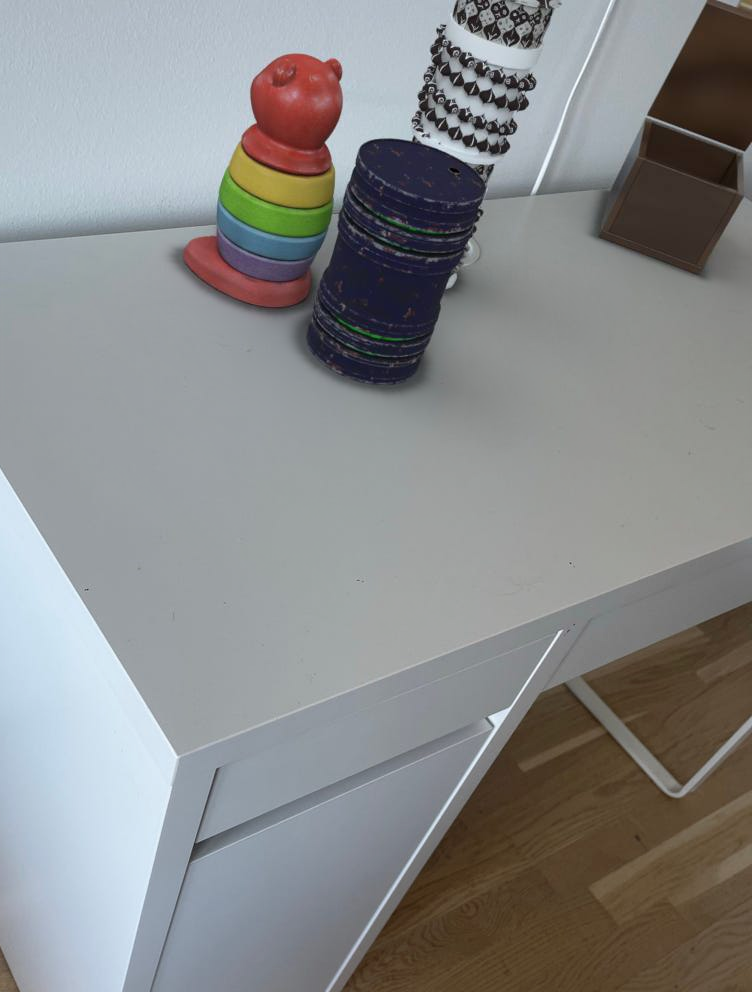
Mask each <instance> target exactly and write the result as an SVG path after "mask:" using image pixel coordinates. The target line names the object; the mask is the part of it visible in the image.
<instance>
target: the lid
mask: <svg viewBox="0 0 752 992" xmlns="http://www.w3.org/2000/svg"><path fill="white" fill-rule="evenodd" d="M646 116H647V117H650V118H653V119H654V120H657V121H661V122H662V123H666V124H669V125H670V126H674V127H677V128H679V129H683V130H684V131H688V132H690V133H693V134H696V135H699V136H701V137H704V138H705V139H706V138H707V139H710V140H712V141H715V142H716V143H720V144H723V145H726V146H729V147H731V148H733V149H736V150H739V151H742V152H744V153H745V152H747V150H748V148H749V147H750V146H751V144H752V0H739V1H738V3H737V5H736V6H733V5H731V4H728V3H725V2H724V1H720V0H706V1H705V3H704V5H703V7H702V9H701V11H700V12H699V14H698V16H697V18H696V20H695V22H694V24H693V26H692V27H691V30H690V31H689V34H688V35H687V37H686V39H685V41H684V43H683V45H682V46H681V49H680V50H679V52H678V53H677V56H676V58H675V60H674V62H673V63H672V65H671V67H670V69H669V71H668V73H667V74H666V77H665V79H664V81H663V82H662V84H661V85H660V88H659V89H658V91H657V94H656V95H655V98H654V99H653V101H652V103H651V105H650V107H649V109H648V111H647V113H646Z"/></svg>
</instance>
